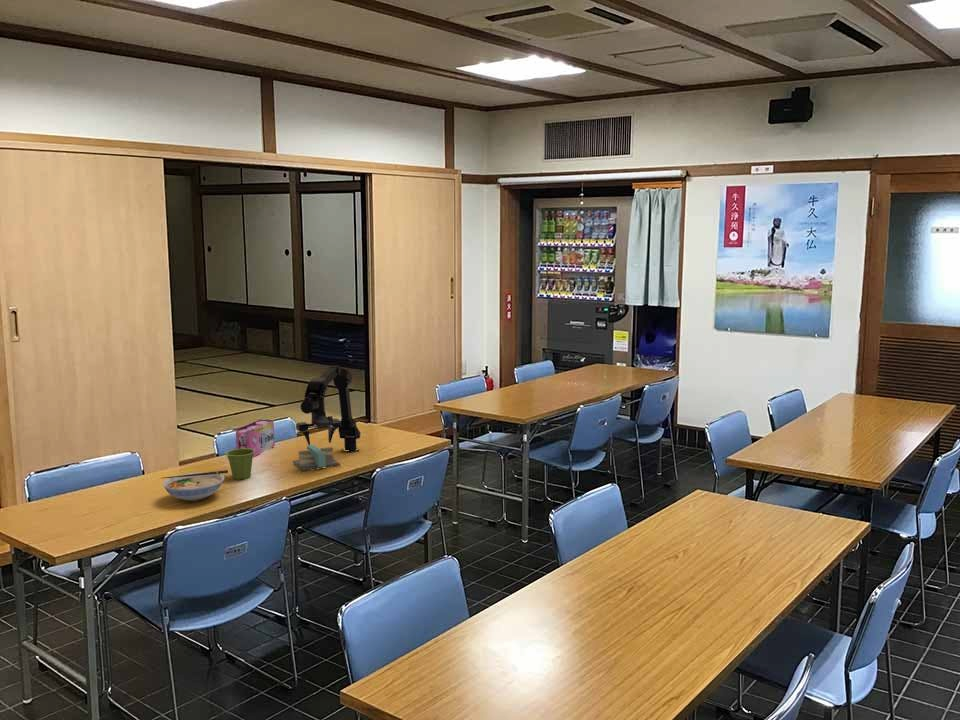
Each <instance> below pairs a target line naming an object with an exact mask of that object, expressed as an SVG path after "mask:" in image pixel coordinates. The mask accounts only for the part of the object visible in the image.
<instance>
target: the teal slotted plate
mask: <svg viewBox="0 0 960 720" xmlns="http://www.w3.org/2000/svg"><path fill="white" fill-rule="evenodd" d="M306 447H307V448H306V450H311V456H313V457H314V464H315V465H316V466H318V467H319V468H320V467H326V460H325V453H324V452H323V451H321V448H319V447H318V446H316V445H314V444H310V446H309V445H308V444H307V445H306Z"/></svg>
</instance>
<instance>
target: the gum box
mask: <svg viewBox="0 0 960 720" xmlns="http://www.w3.org/2000/svg"><path fill="white" fill-rule="evenodd" d="M274 446H275V447H276V442H275V424H274V420H273V419H257V420H255V421H253V422H251V423H248V424H246V425H243V426H241V427H238V428H236V429H235V449H253V450H255V452H254V455H253V458H255V457H257V456H259V455H258V454H260V453H262V452H264V451H266V450H268V449H270V448H272V447H274ZM275 447H274V448H275ZM272 449H273V448H272ZM270 450H271V449H270ZM268 451H269V450H268ZM266 452H267V451H266ZM264 453H265V452H264ZM262 454H263V453H262ZM256 455H257V456H256ZM260 455H261V454H260Z"/></svg>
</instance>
